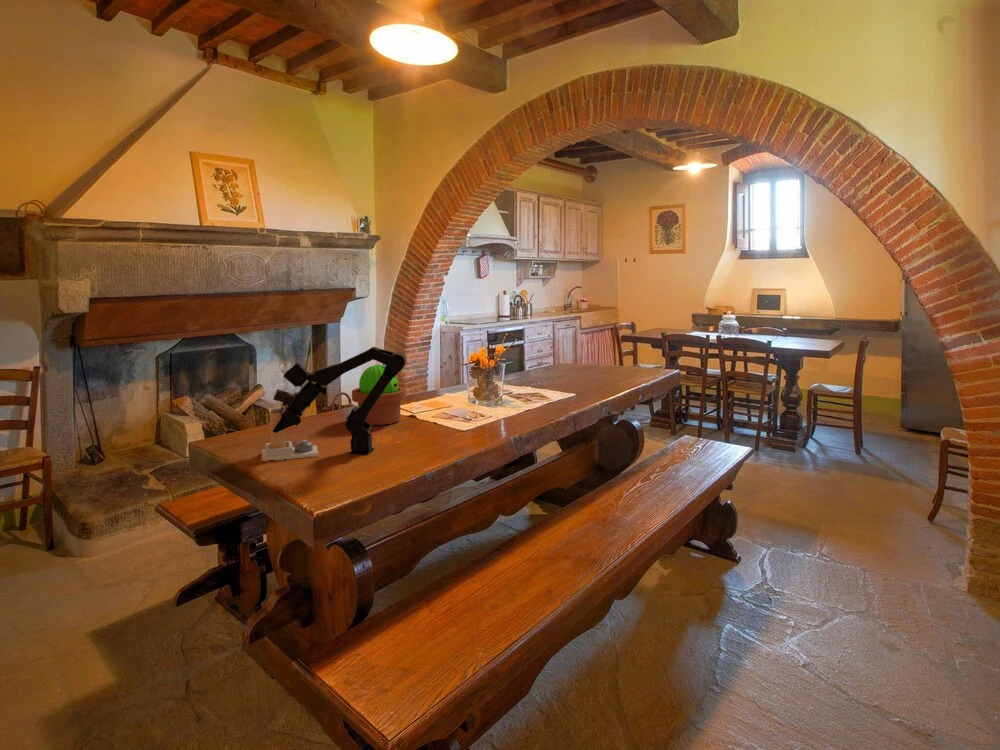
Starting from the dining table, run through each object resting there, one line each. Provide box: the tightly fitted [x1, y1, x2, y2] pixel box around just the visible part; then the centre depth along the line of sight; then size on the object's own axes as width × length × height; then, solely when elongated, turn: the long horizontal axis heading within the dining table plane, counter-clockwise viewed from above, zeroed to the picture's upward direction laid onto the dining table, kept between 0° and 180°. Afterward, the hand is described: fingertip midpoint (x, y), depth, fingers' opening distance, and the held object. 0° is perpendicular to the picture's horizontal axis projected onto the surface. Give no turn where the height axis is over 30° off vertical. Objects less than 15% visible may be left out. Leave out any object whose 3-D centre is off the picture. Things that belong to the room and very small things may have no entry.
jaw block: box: [269, 407, 287, 449], centre depth 199 cm, size 4×4×14 cm
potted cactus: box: [351, 363, 407, 426], centre depth 247 cm, size 22×22×25 cm
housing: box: [261, 439, 319, 462], centre depth 201 cm, size 18×10×5 cm, turn 110°
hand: (273, 430), depth 199 cm, fingers closed on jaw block, 4 cm apart
